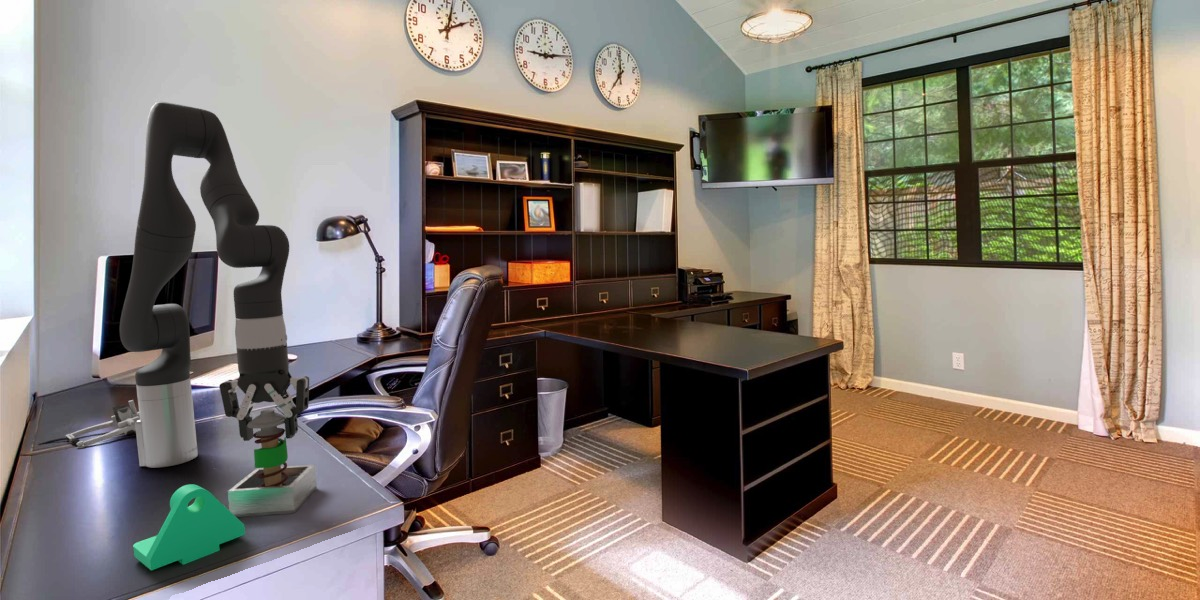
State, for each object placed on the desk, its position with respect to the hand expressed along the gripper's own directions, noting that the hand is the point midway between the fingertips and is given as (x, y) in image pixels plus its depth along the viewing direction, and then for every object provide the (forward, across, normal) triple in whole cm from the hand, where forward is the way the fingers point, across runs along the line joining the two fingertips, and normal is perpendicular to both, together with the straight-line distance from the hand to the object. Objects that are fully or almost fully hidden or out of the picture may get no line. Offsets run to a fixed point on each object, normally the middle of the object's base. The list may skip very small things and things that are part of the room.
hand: (269, 437), depth 103 cm
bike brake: (+12, -60, +46) cm, 76 cm away
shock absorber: (+10, 0, 0) cm, 10 cm away
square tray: (+12, 0, 0) cm, 12 cm away
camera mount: (+12, -5, -16) cm, 20 cm away
